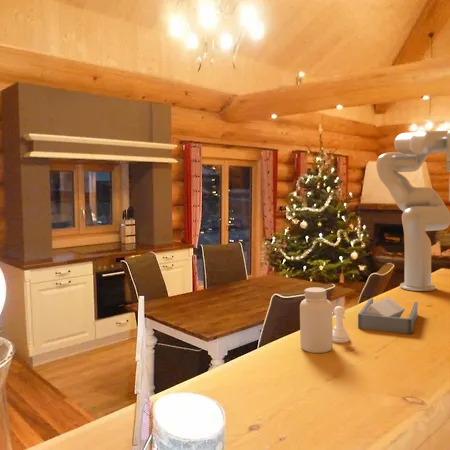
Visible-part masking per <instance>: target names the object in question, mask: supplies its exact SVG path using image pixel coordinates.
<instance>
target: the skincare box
mask: <svg viewBox="0 0 450 450" xmlns="http://www.w3.org/2000/svg"><path fill="white" fill-rule="evenodd" d="M405 310H406V309H405V307H403V306H402V305H400V304H399V303H398V302H397V301H395V300H394V299H393V298H391V297H390V296H389V297H386V298H382V299H381V300H378V301H376V302H375V301H374V302H373V304H370V305H369V307H368V309H367V310H366V312H365V314H368V315H378V316H388V317H398V318H401V316H402V315H403V313H404V312H405Z"/></svg>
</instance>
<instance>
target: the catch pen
mask: <svg viewBox="0 0 450 450" xmlns="http://www.w3.org/2000/svg"><path fill="white" fill-rule="evenodd" d="M373 303H374V298H372V297H370V298H369V299H368V301H367V302H366V304H365V305H364V306H363V307H362V309H361V310H360V311H359V312H358V314H357V328H358V329H361V330H363V329H364V330H372V331H380V332H390V333H396V334H397V333H398V334H405V335H406V334H407V335H412V333H413V330H414V327H415V324H416V320H417V318H418V306H419V305H418V301H414V303H413V304H412V305H413V306H412V308H411V311H410V313H409V316H408V318H407V317H400V318H398V317H388V316H378V315H368V314H365V312H366V310H367V309H368V307H369V305H370V304H373Z"/></svg>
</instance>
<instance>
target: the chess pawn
mask: <svg viewBox="0 0 450 450" xmlns="http://www.w3.org/2000/svg"><path fill="white" fill-rule="evenodd" d="M333 313H334V316H333V319H335V320H336V321H335V325H334V327H333V329H332V335H333V342H334V343H338V344H339V343H340V344H342V343H348V342H349V341H350V333H349V332H348V331H347V330H346V327H345V326H344V323H343V320H346V317H345V314H346V310H345V308H344V307H343V306H340V305H338V306H335V307H334V308H333Z"/></svg>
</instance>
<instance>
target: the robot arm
mask: <svg viewBox="0 0 450 450" xmlns="http://www.w3.org/2000/svg"><path fill="white" fill-rule="evenodd" d="M393 144H394V148H395V150H396V151H389V152H384V153H382V154H381V155H379V156H378V158H377V159H376V165H375V167H376V172H377V173H376V174H377V175H378V177H379V179H380V181H381V182H382V184H383V185H384V186H385V187H386V188H387V190H388V191H389V193H390V195H391V197H392V198H393V200H394V203H395V204H396V205H397V207H398V208H399V210H400V211H402V214H401V223H402V228H403V236H404V247H403V248H404V274H403V275H404V276H403V277H404V281H403V282H401V283H400V284H399V287H400V288H401V289H404V290H406V291H411V292H412V291H413V292H430V291H434V290H436V285H435V284H434V283H432V242H431V239H430V237H429V235H428V234H427V232H431V231H433V232H434V231H443V230H445V229H447V228H449V226H450V211H449V209H448V207H447V206H446V204H445V202H444V201H443V199H442V198H441V196H440V195H439V193H438V192H437V191H436V190H435V189H434V188H432V187H429V186H428V187H426V186H424V187H421V186H419V187H417V186H413V185H412V184H411V182H410V181H409V179H408V178H407V177H406V176H405V175H403V174H401V173H412V172H417V171H418V170H419V169H420V168H421V167H422V165H423V164H424V163H425V161H426V159H427V158H428V156H429V155H430V154H445V155H446V157H445V161H446V162H445V165H446V166H445V168H446V169H445V172H446V173H450V130H419V131H418V130H417V131H405V132H402V133H400V134H398V135H397V136H396V137H395V138H394V141H393ZM448 176H449V177H448V202H450V174H449V175H448Z"/></svg>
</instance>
